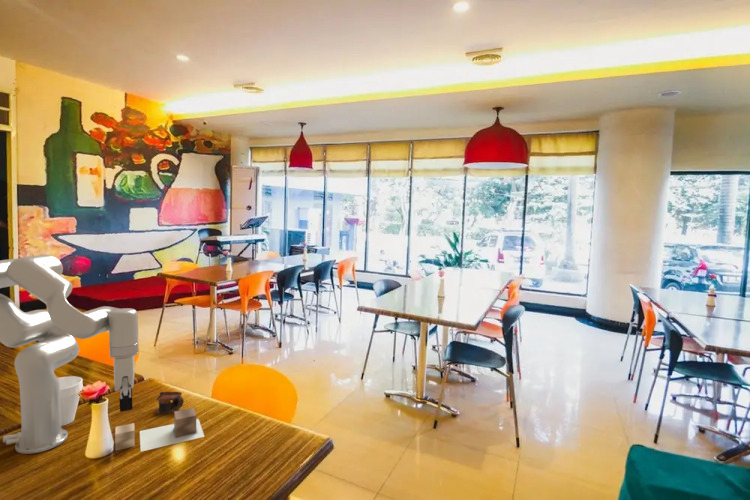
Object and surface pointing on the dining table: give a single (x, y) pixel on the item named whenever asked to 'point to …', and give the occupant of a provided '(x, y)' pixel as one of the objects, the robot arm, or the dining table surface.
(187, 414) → the walnut cube
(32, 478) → the dining table surface
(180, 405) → the pottery mug
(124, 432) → the maple block
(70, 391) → the cup
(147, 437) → the white rectangular board
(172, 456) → the dining table surface
